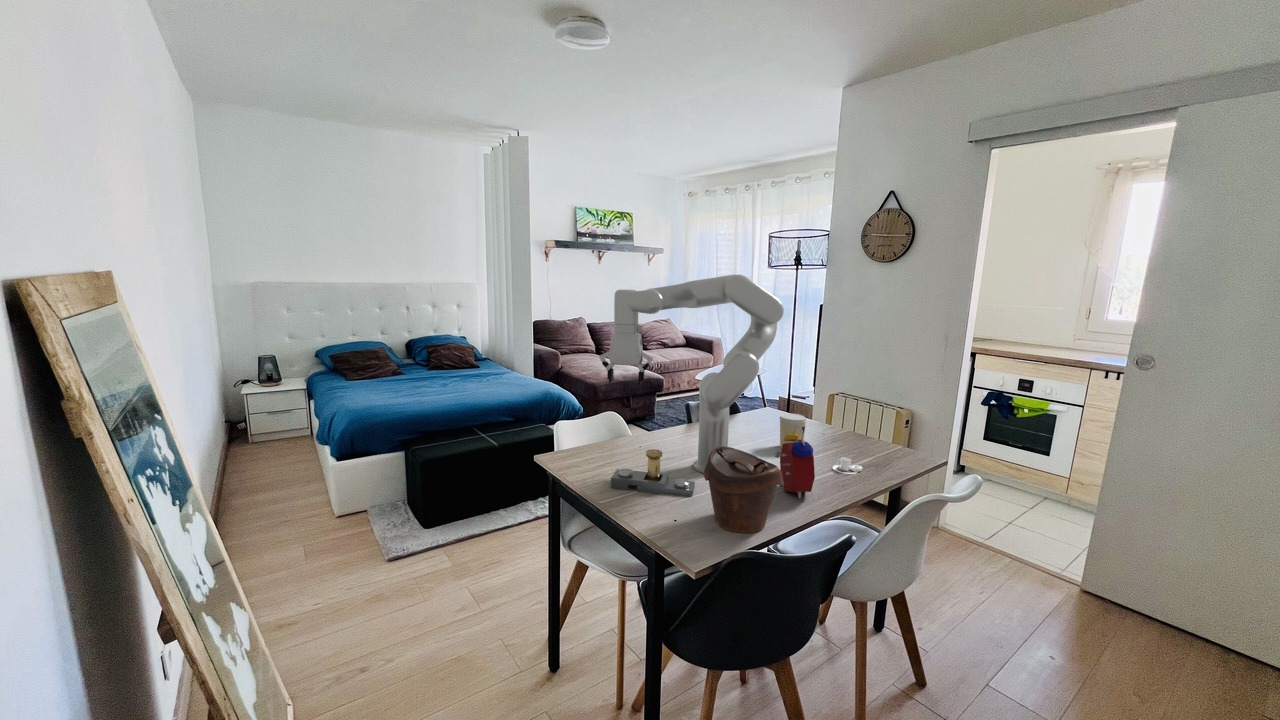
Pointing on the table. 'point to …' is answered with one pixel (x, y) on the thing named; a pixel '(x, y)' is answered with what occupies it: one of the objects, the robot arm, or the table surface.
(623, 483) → the grey bolted base plate
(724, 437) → the robot arm
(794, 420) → the coffee cup
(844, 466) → the teacup and saucer
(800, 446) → the alarm clock
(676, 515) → the table surface
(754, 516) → the brown flower pot
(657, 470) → the pin
